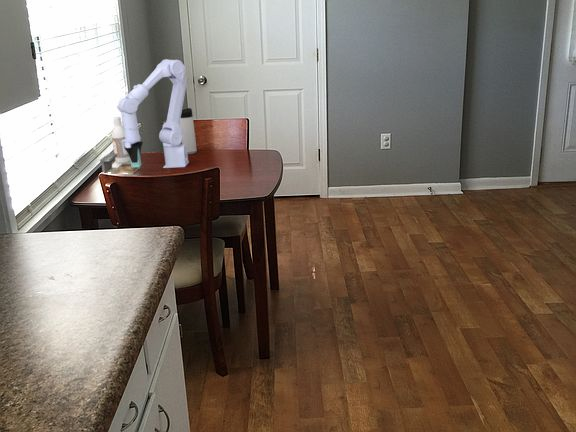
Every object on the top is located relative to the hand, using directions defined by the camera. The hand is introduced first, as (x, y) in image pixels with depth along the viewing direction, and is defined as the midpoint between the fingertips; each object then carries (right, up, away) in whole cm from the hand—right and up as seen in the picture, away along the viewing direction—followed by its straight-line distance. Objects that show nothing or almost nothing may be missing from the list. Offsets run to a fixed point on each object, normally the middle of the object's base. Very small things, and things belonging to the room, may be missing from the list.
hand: (136, 161), depth 264 cm
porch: (-8, -4, +7) cm, 11 cm away
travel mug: (+17, +7, +34) cm, 38 cm away
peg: (0, -2, +1) cm, 2 cm away
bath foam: (-12, +2, +26) cm, 28 cm away
